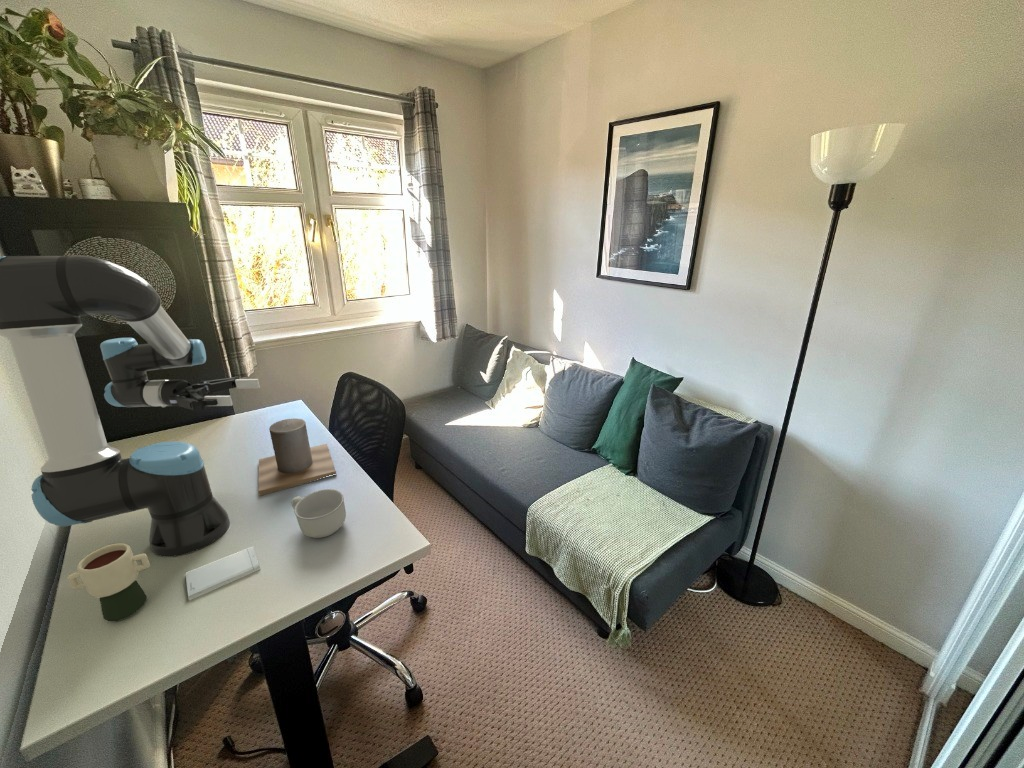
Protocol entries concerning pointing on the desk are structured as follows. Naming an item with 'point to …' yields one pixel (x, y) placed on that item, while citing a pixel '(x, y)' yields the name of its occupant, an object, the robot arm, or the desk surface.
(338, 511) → the teacup
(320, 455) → the wooden board
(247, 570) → the hard drive
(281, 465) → the pillar candle
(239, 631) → the desk surface
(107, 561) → the character mug
